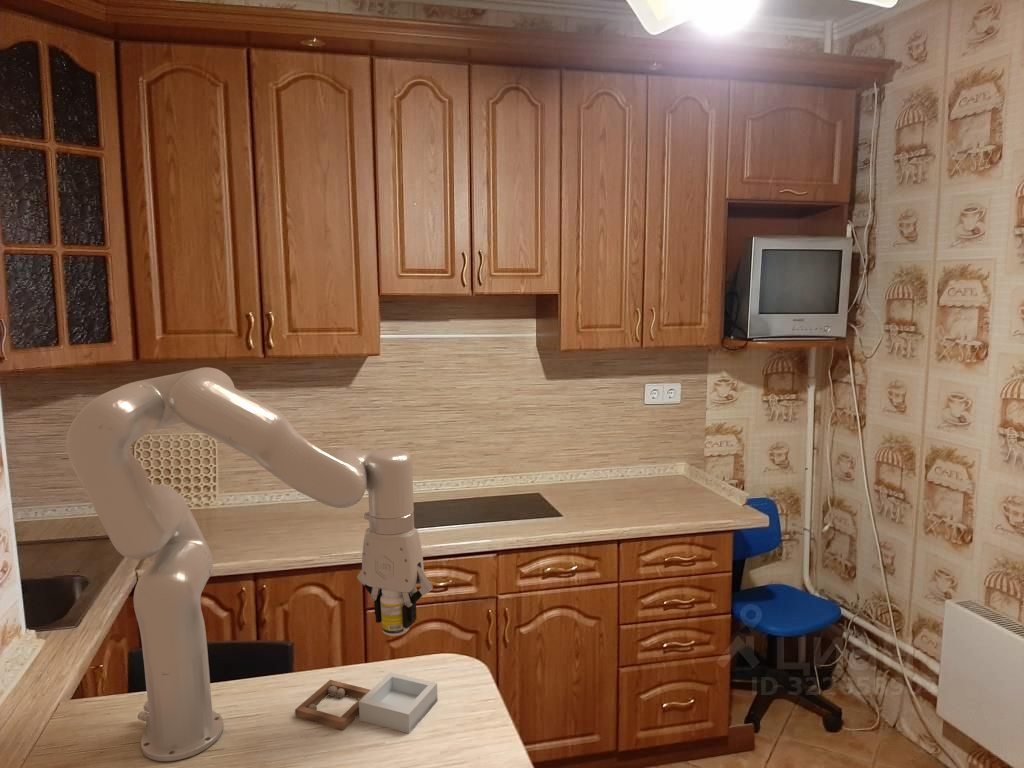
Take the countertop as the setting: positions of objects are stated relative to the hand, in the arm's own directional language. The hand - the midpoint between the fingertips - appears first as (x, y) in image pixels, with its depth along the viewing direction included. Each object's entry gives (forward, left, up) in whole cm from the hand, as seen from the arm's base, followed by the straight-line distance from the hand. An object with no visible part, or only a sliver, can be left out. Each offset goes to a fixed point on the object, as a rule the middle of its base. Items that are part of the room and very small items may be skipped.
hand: (395, 621), depth 124 cm
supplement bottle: (0, 0, -2) cm, 2 cm away
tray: (-11, -4, -17) cm, 20 cm away
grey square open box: (0, 0, -17) cm, 17 cm away
